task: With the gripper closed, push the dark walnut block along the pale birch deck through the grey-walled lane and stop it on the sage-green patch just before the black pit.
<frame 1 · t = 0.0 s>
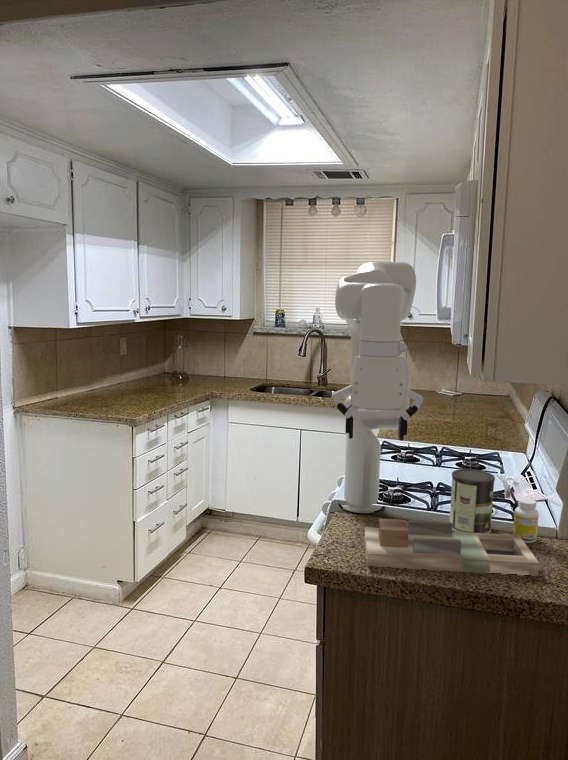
hand: (375, 437, 112), 31 cm above the counter, tool pointing down, fingers open, 9 cm apart
coffee can: (469, 528, 147), on the counter
supplement bottle: (524, 539, 141), on the counter
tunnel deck: (445, 556, 131), on the counter
walnut block: (392, 541, 132), point 3 cm above the counter, touching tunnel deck
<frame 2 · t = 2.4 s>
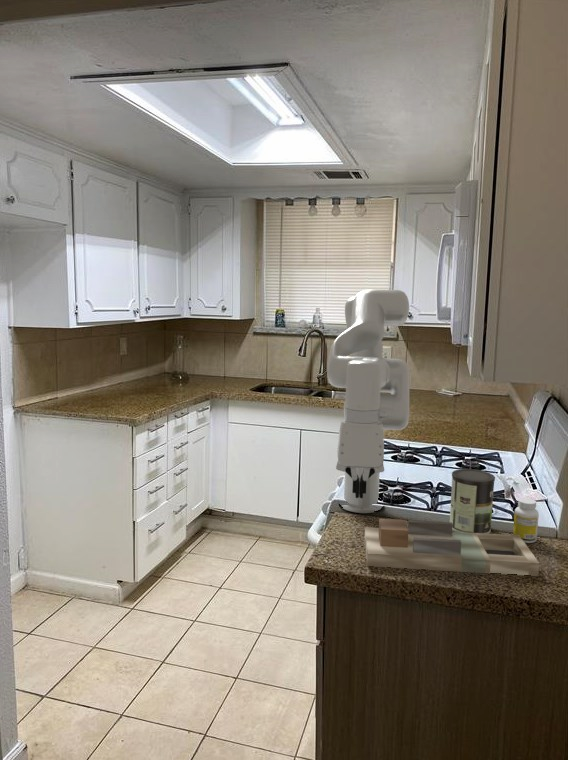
hand: (359, 496, 130), 14 cm above the counter, tool pointing down, fingers closed
nothing on the counter moved.
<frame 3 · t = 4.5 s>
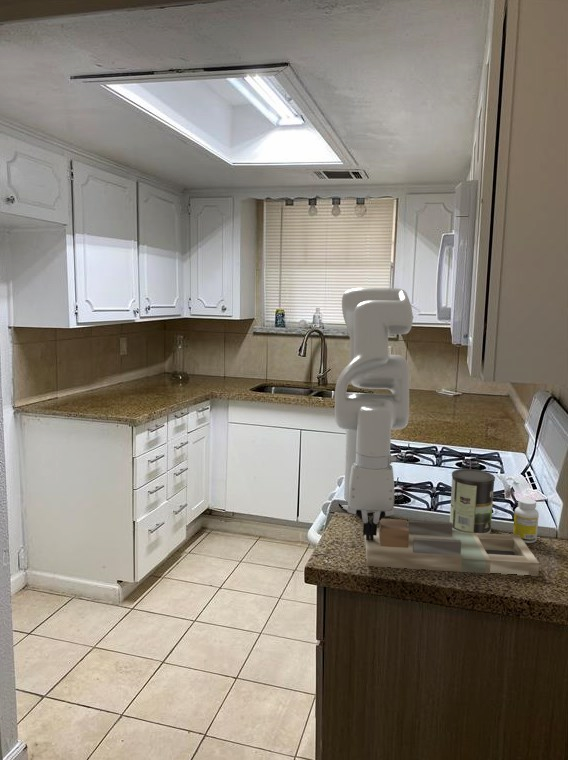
hand: (369, 537, 132), 4 cm above the counter, tool pointing down, fingers closed
walnut block: (393, 541, 132), point 3 cm above the counter, touching gripper, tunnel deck
everything else where it was.
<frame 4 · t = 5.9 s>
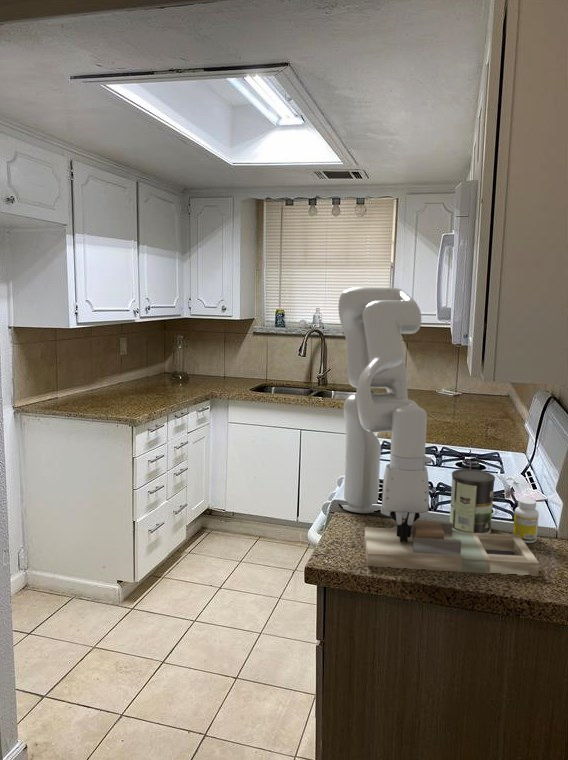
hand: (403, 539, 131), 4 cm above the counter, tool pointing down, fingers closed
walnut block: (427, 543, 131), point 3 cm above the counter, touching gripper, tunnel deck
everything else where it was.
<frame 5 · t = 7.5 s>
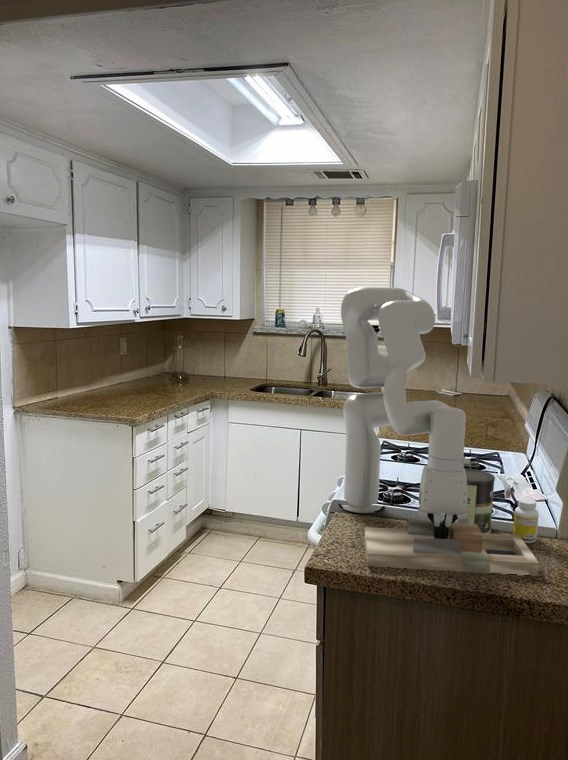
hand: (440, 541, 131), 4 cm above the counter, tool pointing down, fingers closed
walnut block: (464, 545, 130), point 3 cm above the counter, touching gripper, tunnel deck
everything else where it was.
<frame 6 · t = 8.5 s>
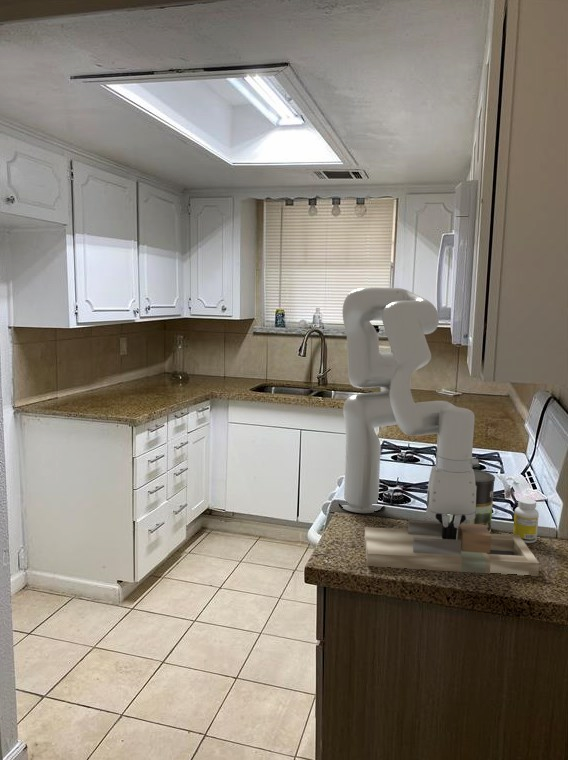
hand: (448, 541, 130), 4 cm above the counter, tool pointing down, fingers closed
walnut block: (473, 546, 130), point 3 cm above the counter, touching gripper, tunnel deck
everything else where it was.
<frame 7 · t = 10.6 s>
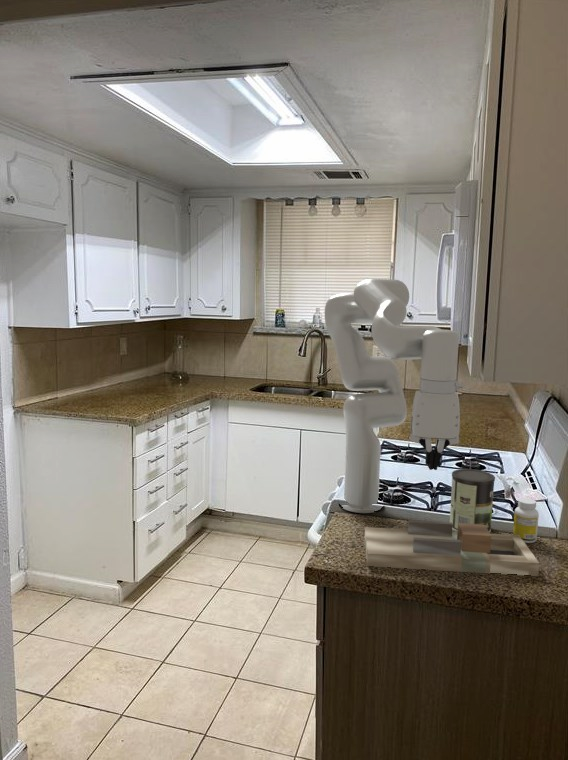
hand: (432, 467, 128), 21 cm above the counter, tool pointing down, fingers closed
walnut block: (473, 546, 130), point 3 cm above the counter, touching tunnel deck
everything else where it was.
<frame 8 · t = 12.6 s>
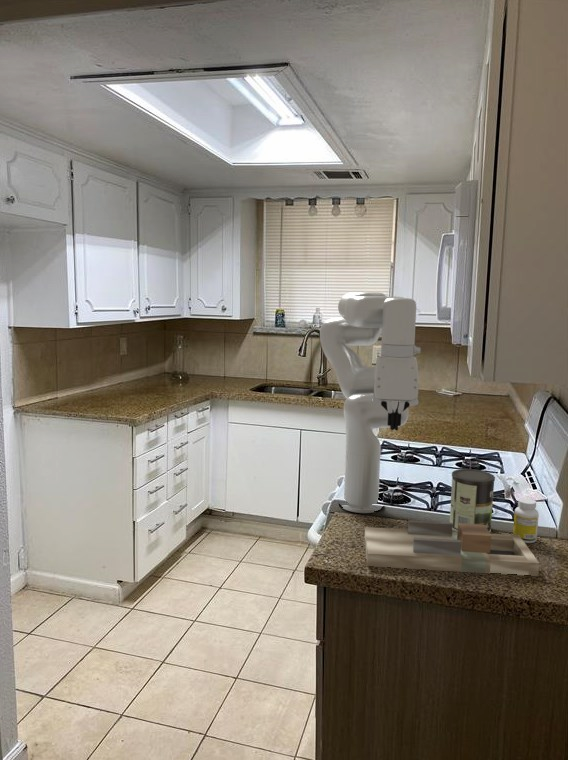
hand: (393, 428, 137), 27 cm above the counter, tool pointing down, fingers closed
nothing on the counter moved.
at the end: walnut block 1.6 cm from the target spot on the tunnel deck, point 3.0 cm above the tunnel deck's base; walnut block tilted 0° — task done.
